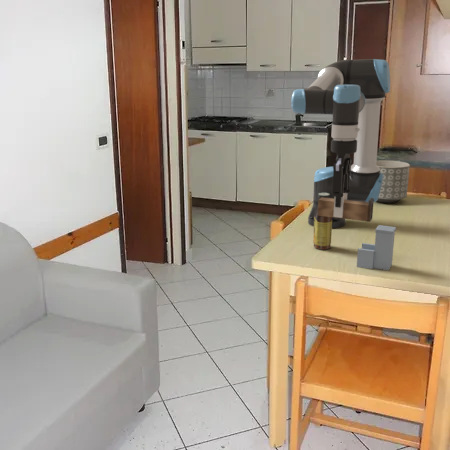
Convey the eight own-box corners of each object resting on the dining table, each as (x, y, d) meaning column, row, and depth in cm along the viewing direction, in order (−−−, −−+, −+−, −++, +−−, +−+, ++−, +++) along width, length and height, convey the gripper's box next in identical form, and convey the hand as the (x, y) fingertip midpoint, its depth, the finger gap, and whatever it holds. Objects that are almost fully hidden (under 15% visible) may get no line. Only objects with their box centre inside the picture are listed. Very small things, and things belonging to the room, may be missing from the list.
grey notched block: (356, 266, 171) (359, 228, 168) (361, 259, 178) (364, 222, 174) (389, 271, 167) (392, 232, 163) (392, 264, 173) (396, 226, 170)
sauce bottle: (318, 243, 194) (321, 190, 188) (334, 247, 190) (337, 193, 185) (309, 248, 189) (311, 193, 184) (325, 251, 185) (328, 196, 180)
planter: (357, 197, 262) (360, 161, 257) (390, 195, 267) (394, 159, 262) (379, 207, 245) (382, 168, 239) (414, 204, 250) (418, 165, 245)
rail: (317, 215, 165) (318, 195, 163) (320, 212, 168) (321, 192, 166) (369, 221, 158) (371, 201, 156) (372, 218, 161) (373, 198, 159)
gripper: (350, 143, 148) (345, 224, 155) (363, 135, 162) (358, 209, 169) (323, 142, 151) (320, 220, 158) (338, 134, 165) (334, 207, 172)
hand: (339, 215), depth 163 cm, fingers closed on rail, 3 cm apart
